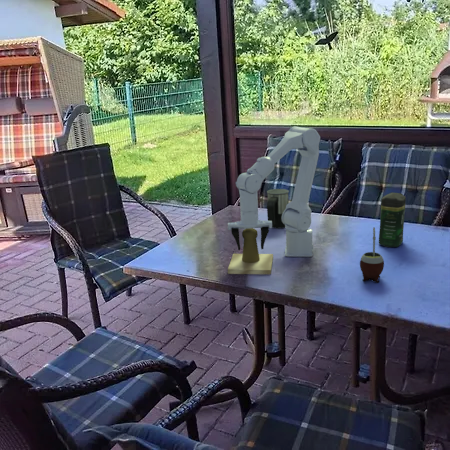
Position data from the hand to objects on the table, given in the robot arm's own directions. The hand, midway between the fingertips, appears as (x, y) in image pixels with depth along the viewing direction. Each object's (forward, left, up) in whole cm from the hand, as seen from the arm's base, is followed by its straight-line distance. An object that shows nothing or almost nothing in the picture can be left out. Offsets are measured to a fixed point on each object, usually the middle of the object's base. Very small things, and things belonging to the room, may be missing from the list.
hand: (250, 248), depth 164 cm
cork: (0, -2, -5) cm, 5 cm away
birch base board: (0, 0, -6) cm, 6 cm away
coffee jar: (-49, -22, -6) cm, 54 cm away
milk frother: (-10, -41, -6) cm, 43 cm away
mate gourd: (-38, +9, -6) cm, 40 cm away
